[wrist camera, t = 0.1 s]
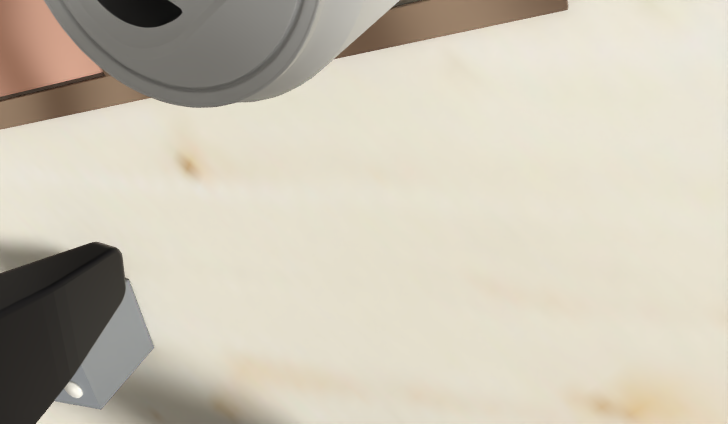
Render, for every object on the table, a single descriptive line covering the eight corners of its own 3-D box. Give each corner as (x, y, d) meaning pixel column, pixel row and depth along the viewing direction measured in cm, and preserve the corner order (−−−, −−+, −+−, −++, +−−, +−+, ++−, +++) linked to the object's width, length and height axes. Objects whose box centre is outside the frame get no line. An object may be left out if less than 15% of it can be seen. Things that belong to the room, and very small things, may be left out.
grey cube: (154, 347, 35) (99, 411, 31) (87, 338, 37) (28, 398, 33) (128, 279, 33) (67, 339, 29) (59, 273, 34) (-8, 328, 31)
